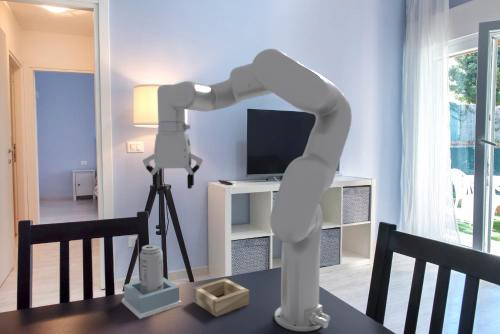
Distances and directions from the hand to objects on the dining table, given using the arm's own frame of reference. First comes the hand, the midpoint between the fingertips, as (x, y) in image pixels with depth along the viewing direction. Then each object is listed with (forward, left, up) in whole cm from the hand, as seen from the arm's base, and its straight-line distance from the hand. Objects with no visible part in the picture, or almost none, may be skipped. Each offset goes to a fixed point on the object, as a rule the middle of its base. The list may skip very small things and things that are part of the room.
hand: (173, 188), depth 104 cm
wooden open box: (-15, -6, -31) cm, 35 cm away
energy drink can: (-3, +8, -30) cm, 32 cm away
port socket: (-3, +9, -31) cm, 32 cm away
